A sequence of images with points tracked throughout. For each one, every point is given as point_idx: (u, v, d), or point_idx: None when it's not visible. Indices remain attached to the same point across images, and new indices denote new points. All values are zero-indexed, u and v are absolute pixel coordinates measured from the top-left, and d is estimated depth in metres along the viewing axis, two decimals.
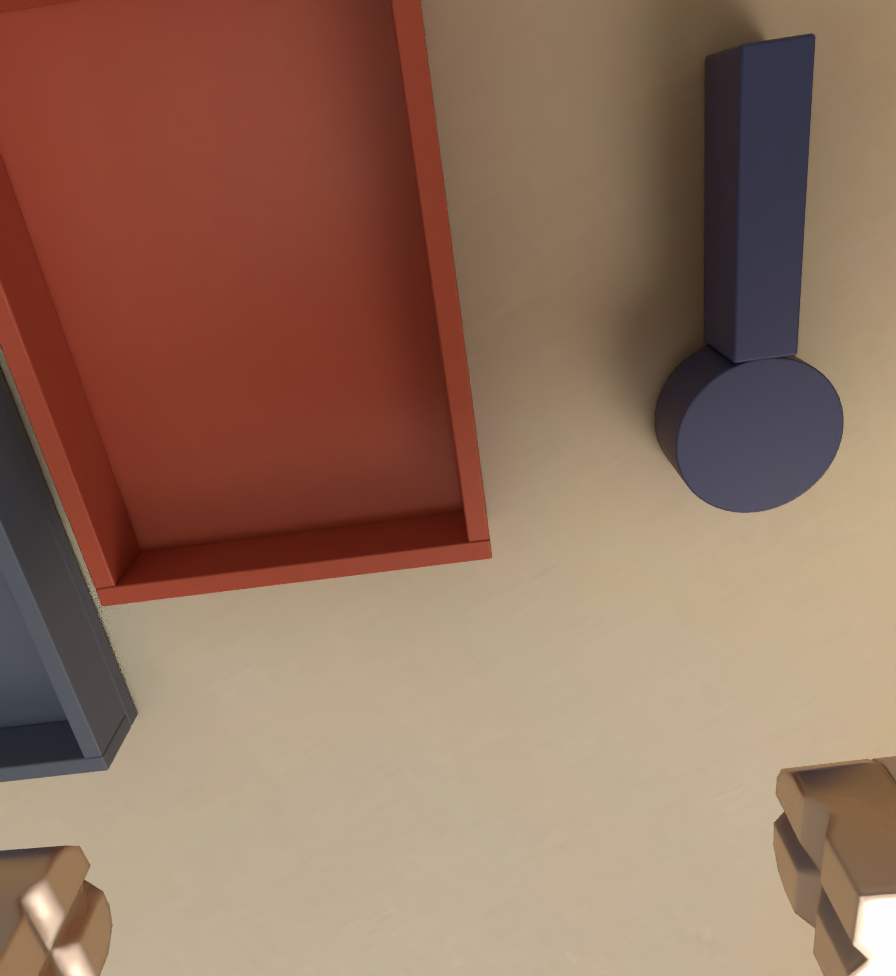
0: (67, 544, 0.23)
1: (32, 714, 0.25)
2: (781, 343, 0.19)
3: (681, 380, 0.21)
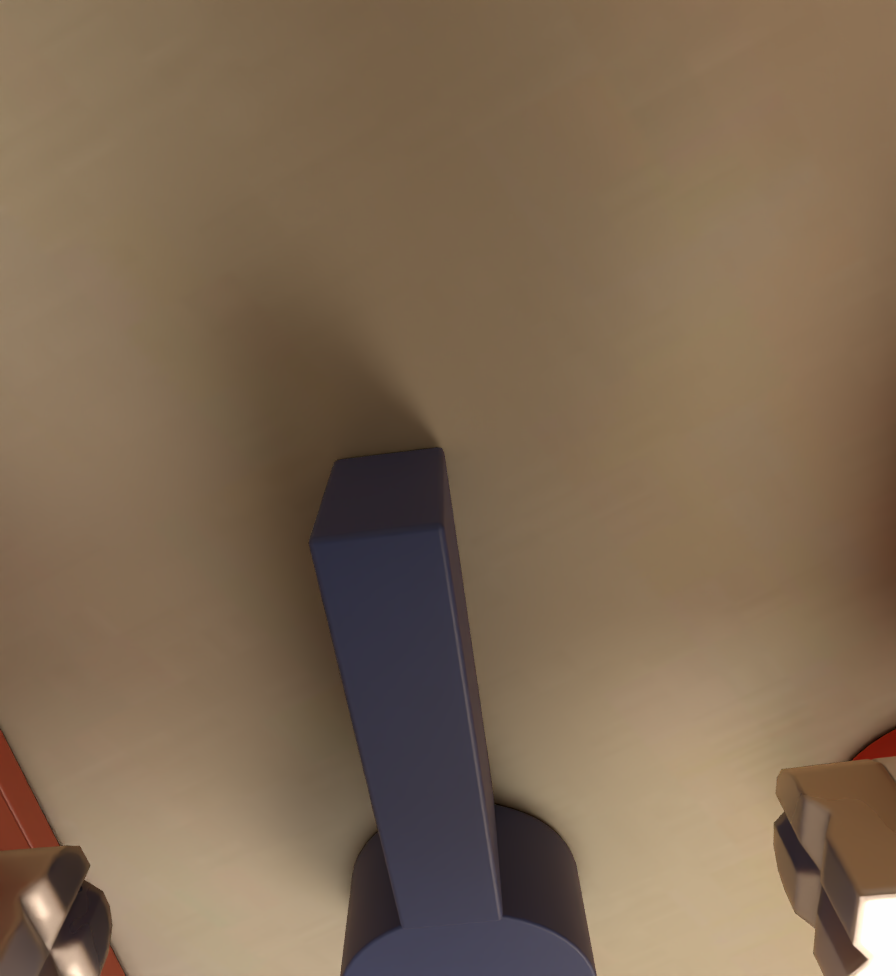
0: None
1: None
2: (473, 910, 0.11)
3: (364, 880, 0.13)
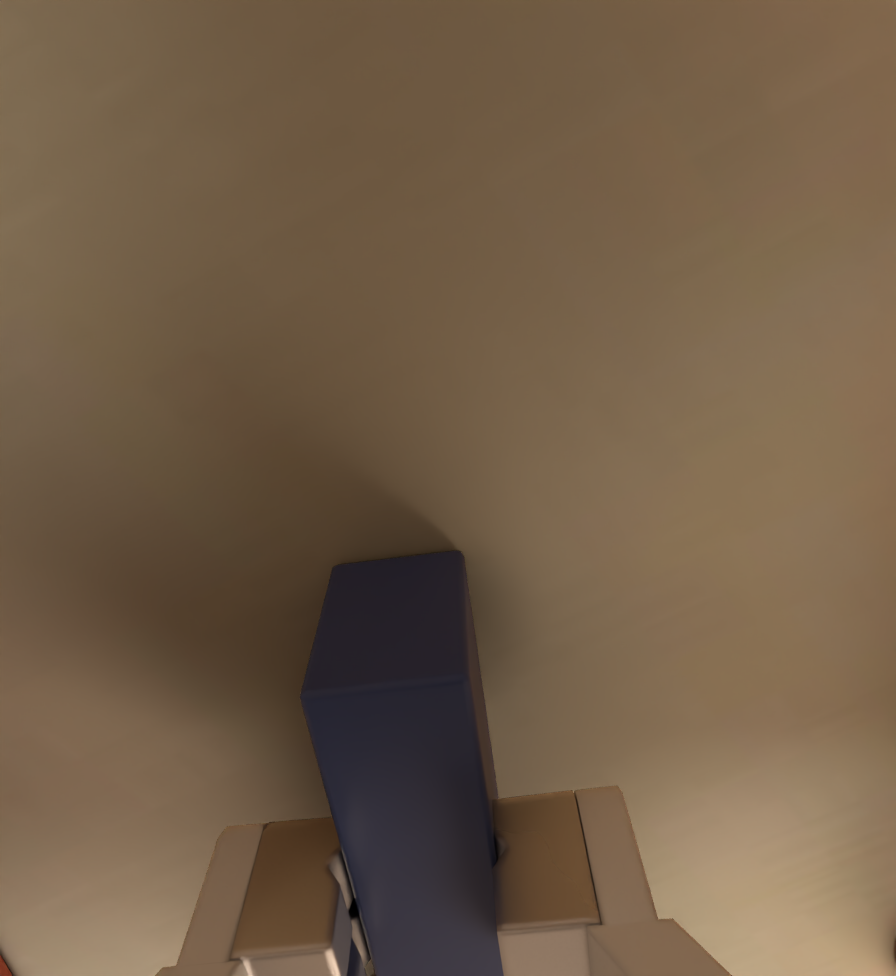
0: None
1: None
2: None
3: None
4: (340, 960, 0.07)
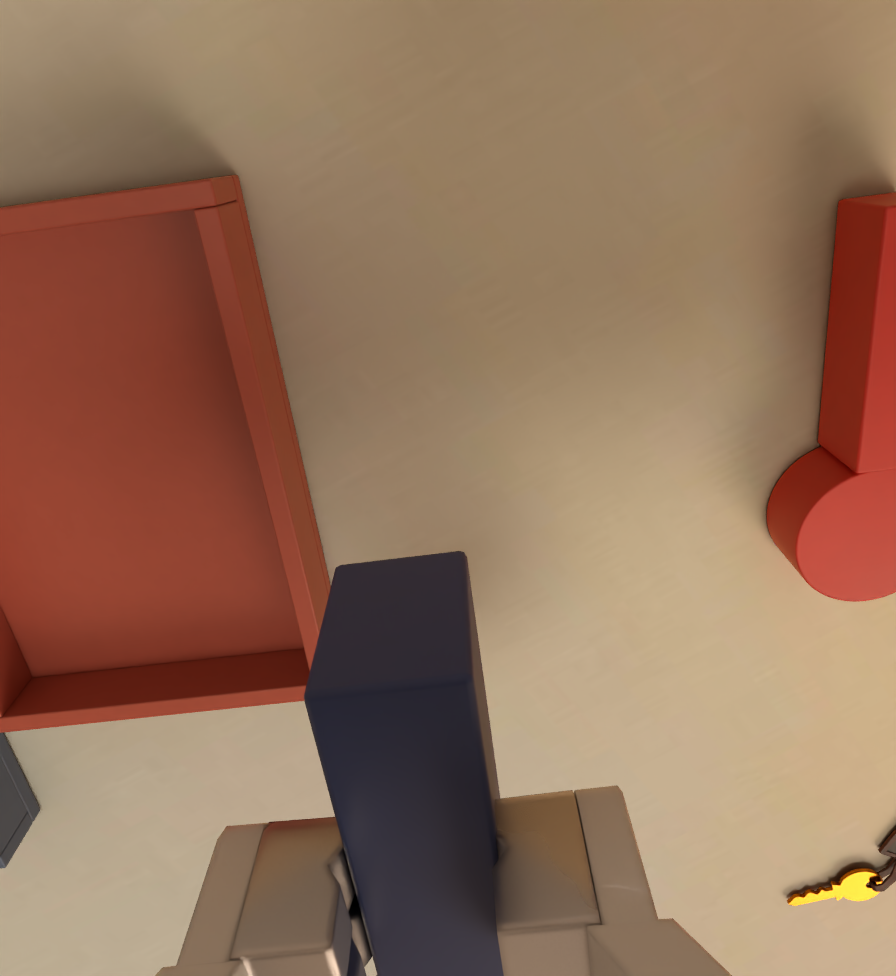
0: None
1: None
2: None
3: None
4: (340, 960, 0.07)
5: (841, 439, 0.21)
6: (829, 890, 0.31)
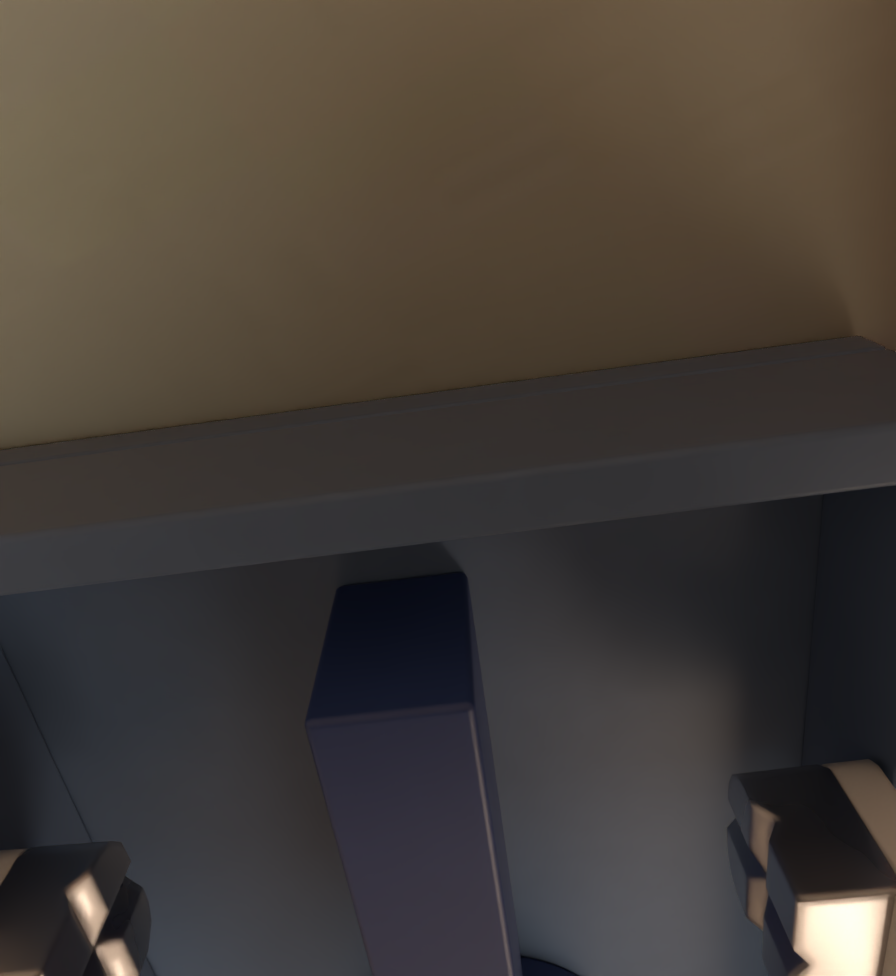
0: None
1: None
2: None
3: None
4: None
5: None
6: None
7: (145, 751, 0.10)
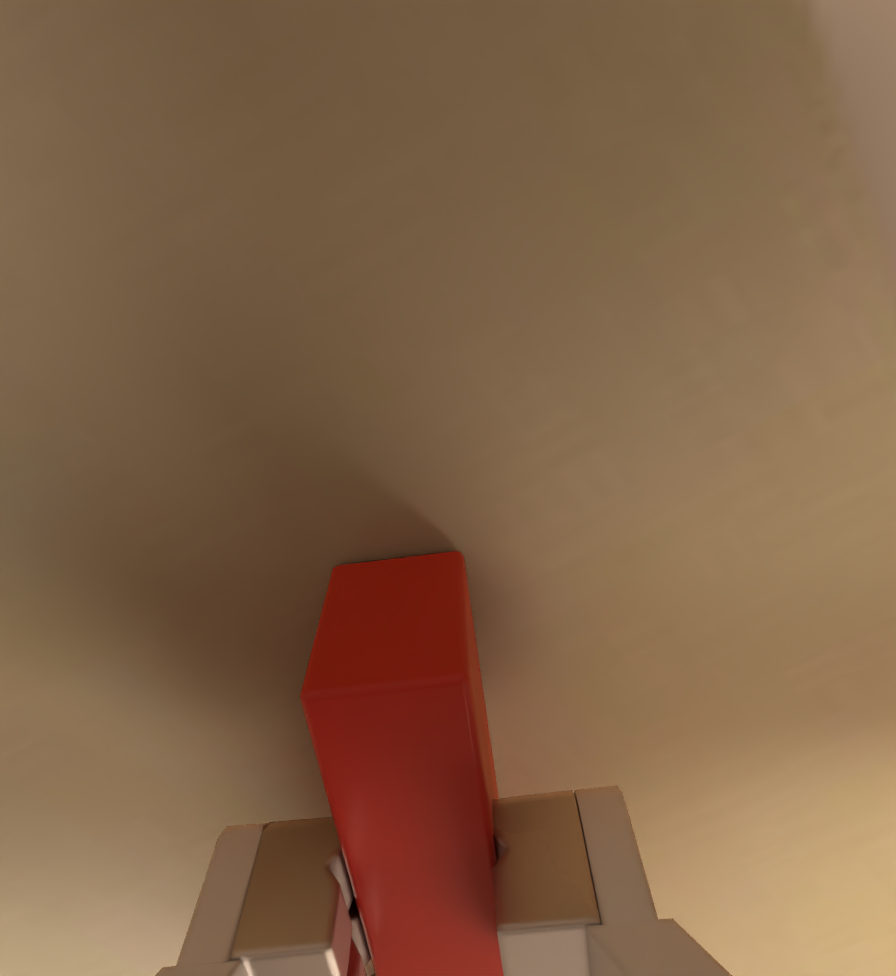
0: None
1: None
2: None
3: None
4: (340, 960, 0.07)
5: None
6: None
7: None
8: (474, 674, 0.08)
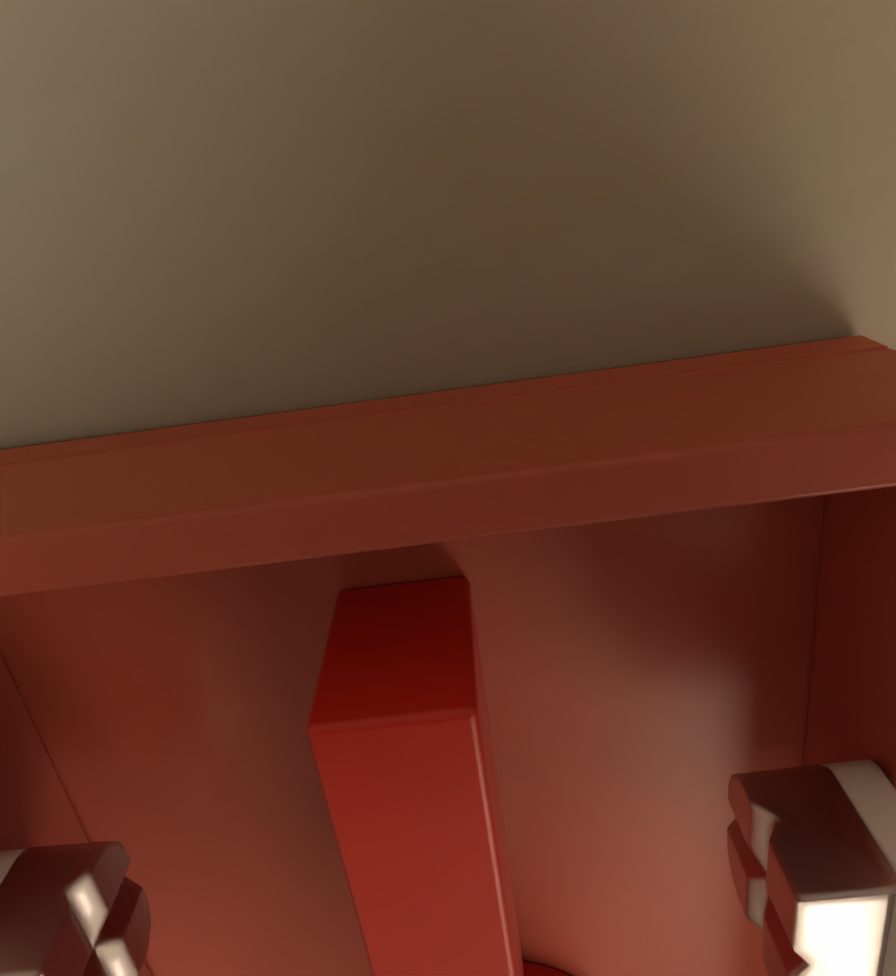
0: None
1: None
2: None
3: None
4: None
5: None
6: None
7: None
8: (481, 704, 0.08)
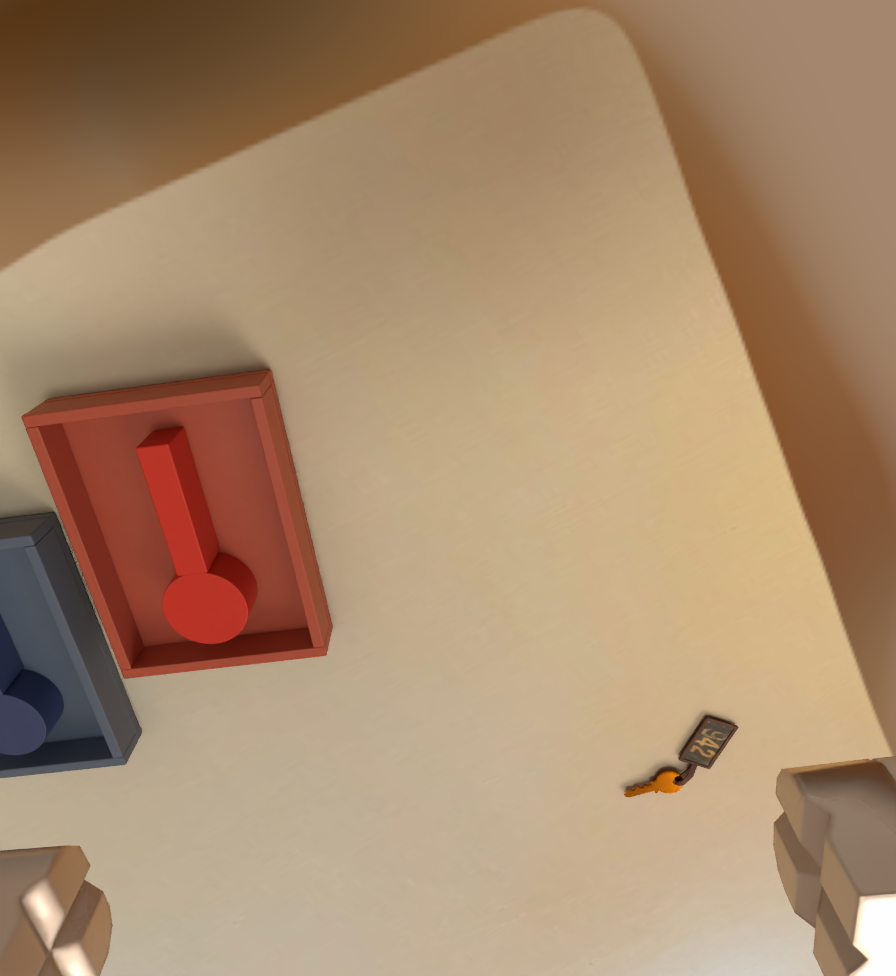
0: (104, 641, 0.43)
1: (82, 732, 0.45)
2: None
3: None
4: None
5: None
6: (649, 786, 0.47)
7: None
8: (177, 450, 0.36)
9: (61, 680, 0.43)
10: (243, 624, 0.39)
